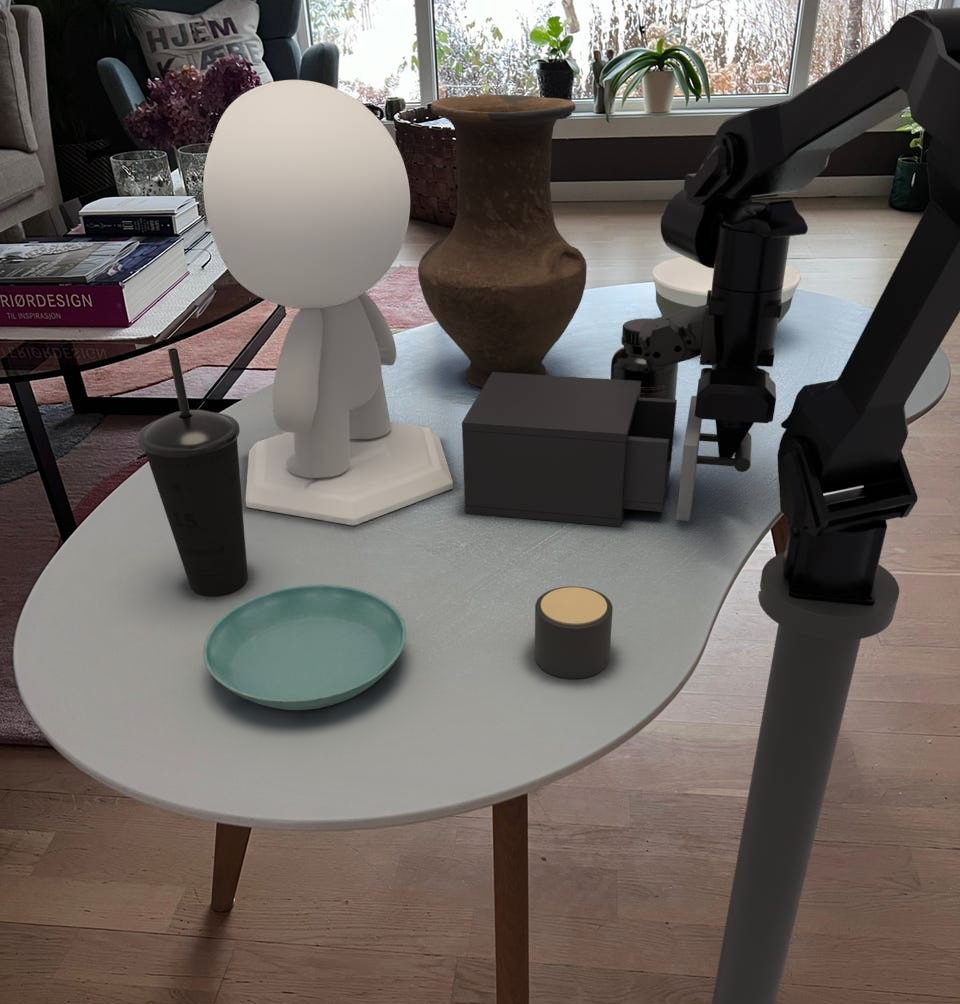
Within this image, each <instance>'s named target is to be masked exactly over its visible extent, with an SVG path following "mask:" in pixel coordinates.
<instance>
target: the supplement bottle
mask: <svg viewBox="0 0 960 1004" xmlns="http://www.w3.org/2000/svg"><path fill="white" fill-rule="evenodd" d="M652 319H653V318H644V317H643V318H634V319H630V320H627V321H625V322H624V323H623V324H622V330H621V331H622V332H621V333H622V334H621V339H620V343H621V345H622V347H620V348H619V349H617V350H616V352H614V354H613V356H612V357H611V361H610V363H611V364H610V379H615V380H632V381H641V389H640V390H641V391H640V397H644V398H660V399H676V400H677V384H678V374H679V373H678V370H679V363H675V364H672V365H668V366H665V367H664V369H662V370H659V371H654V372H651V371H649V370H648V367H647V364H646V360H644V359H643V358H642V347H641V343H640V340H639V333H640V330H641V326H642V325H643V324H644V323H645V322H647V321H649V320H652Z"/></svg>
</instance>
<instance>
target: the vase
mask: <svg viewBox="0 0 960 1004" xmlns="http://www.w3.org/2000/svg"><path fill="white" fill-rule="evenodd" d="M430 109H431V110H430V111H431V113H432V114H433V115H436V116H438V117H441V118H444V119H445V120H447V121H449V122H450V123H451V125H452V126H453V129H454V132H455V144H456V147H455V149H456V151H455V153H456V178H457V210H456V211H457V212H456V218H455V221H454V224H453V227H452V230H451V231H450V233H449V234H448V235H447V236H443V237H441V238H440V239H438V240H437V241H436V242H434V243H433V244H432V245H431V246H430V247H429V248H428V249H427V250H426V251H425V253H424V254H423V255H422V257H421V259H420V261H419V263H418V268H417V277H418V282H419V283H418V284H419V285H420V290H421V292H422V295H423V298H424V301H425V304H426V305H427V307H428V309H429V312H430V313H431V315H432V316H433V317H434V319H435V320H436V321H437V323H438V325H439V326H440V328H441V329H442V330H443V331H444V333H445V334H446V335H448V337H449V338H450V339H451V341H453V342H454V343H455V345H456V346H457V347H458V348H459V349H460V350H461V351H462V352H463V354H464V355H465V356H466V357H467V359H468V360H469V362H470V363H469V366H468V368H467V369H466V370H465V372H464V379H465V380H466V381H467V382H468V383H470V384H471V385H473V386H475V387H479V388H483V387H484V385H485V383H486V382H487V380H488V378H489V377H490V375H491V373H492V372H499V373H516V374H532V375H547V370H546V369H547V368H546V366H545V365H544V363H543V361H544V359H545V358H546V355H547V354H549V352H550V351H551V350H552V348H553V347H554V346H555V344H556V343H558V341H559V340H560V338H561V337H562V335H563V334H564V333H565V331H566V330H567V328H568V327H569V325H570V323H571V322H572V320H573V318H574V316H575V314H576V312H577V311H578V309H579V307H580V304H581V301H582V299H583V295H584V292H585V288H586V284H587V271H588V270H587V267H588V266H587V260H586V259H585V257H584V254H583V253H582V252H581V251H580V250H579V249H578V248H577V247H575V246H572V245H571V244H569V242H567V241H566V239H565V238H564V237H563V236H562V234H561V233H560V232H559V229H558V227H557V225H556V223H555V218H554V212H553V205H552V204H553V202H552V194H551V193H552V191H551V173H552V145H553V144H552V143H553V133H554V128H555V127H554V126H555V124H556V122H557V120H559V119H560V118H561V117H564V116H567V115H569V114H571V113H573V112H575V110H576V103H575V102H573V100H570V99H564V98H559V97H558V98H556V97H545V96H544V97H543V96H534V95H515V94H494V93H493V94H491V93H490V94H489V93H485V94H481V95H474V94H468V95H465V96H446V97H442V98H439V99H436V100H434V101H433V102H431V104H430Z"/></svg>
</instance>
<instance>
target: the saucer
mask: <svg viewBox="0 0 960 1004" xmlns="http://www.w3.org/2000/svg"><path fill="white" fill-rule="evenodd" d="M406 640H407V628H406V624H405V620H404V619H403V617H402V616H401V613H399V611H398V610H397V609H396V608H395V607H394V606H393V604H391V603H390V602H388V601H387V600H386V599H385V598H382V597H380V596H378V595H376V594H374V593H372V592H369V591H366V590H363V589H359V588H356V587H351V586H345V585H344V586H343V585H339V584H306V585H297V586H296V585H295V586H290V587H285V588H281V589H276V590H273V591H272V590H271V591H270V592H267V593H263V594H261V595H258V596H255V597H252V598H251V599H248V600H246V601H244V602H243V603H241V604H240V603H239V604H238V605H237V606H235V607H233V608H232V609H230V610H229V611H228V612H227V613H225V614H223V616H222V617H220V619H219V620H217V622H216V623H215V624H214V625H213V626H212V627H211V629H210V630H209V632H208V634H207V635H206V638H205V640H204V643H203V649H202V654H203V655H202V656H203V661H204V664H205V666H206V669H207V671H208V672H209V673H210V675H211V676H212V678H214V680H215V681H217V682H218V683H219V684H220V685H222V686H223V687H225V688H226V689H227V690H228V691H230V692H232V693H234V694H236V695H237V696H238V697H241V698H243V699H245V700H247V701H249V702H252V703H255V704H258V705H262V706H265V707H269V708H273V709H278V710H285V711H308V710H309V711H310V710H317V709H323V708H326V707H330V706H334V705H336V704H340V703H343V702H346V701H348V700H350V699H352V698H354V697H356V696H357V695H359V694H361V693H362V692H364V691H365V690H367V689H368V688H370V687H372V686H373V685H374V684H376V682H378V681H379V680H380V679H381V678H382V677H384V675H386V673H387V672H389V670H390V669H391V668H392V667H393V666H394V664H395V663H396V661H397V660H398V658H399V657H400V655H401V653H402V651H403V649H404V647H405V644H406Z"/></svg>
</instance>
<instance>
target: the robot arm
mask: <svg viewBox="0 0 960 1004" xmlns="http://www.w3.org/2000/svg"><path fill="white" fill-rule="evenodd" d="M908 108H909V112H910V117H911V119H912V120H913V122H915V123H916V124H917V125H918V126H919V127H921V128H922V129H923V130H924V131H925V132H927V134H929V135H930V136H931V140H930V142H929V145H928V147H927V150H926V154H925V155H926V156H925V159H926V171H927V179H928V188H929V201H928V202H927V205H926V208H925V209H924V211H923V213H922V215H921V217H920V219H919V221H918V223H917V225H916V227H915V228H914V231H913V233H912V235H911V237H910V239H909V241H908V243H907V245H906V247H905V248H904V251H902V254H901V256H900V258H899V261H898V262H897V263H896V266H895V268H894V270H893V272H892V273H891V276H890V278H889V279H888V281H887V283H886V285H885V288H884V289H883V291H882V294H881V295H880V297H879V299H878V301H877V303H876V305H875V307H874V309H873V311H872V313H871V314H870V317H869V318H868V320H867V323H866V324H865V326H864V328H863V330H862V331H861V334H860V336H859V338H858V340H857V342H856V344H855V346H854V348H853V349H852V352H851V354H850V356H849V357H848V360H847V361H846V363H845V365H844V367H843V369H842V371H841V373H840V374H839V376H838V378H837V379H834V380H828V381H823V382H817V383H809V384H805V385H802V387H801V388H800V390H798V393H797V394H796V396H795V398H794V402H793V405H792V408H791V411H790V412H789V414H788V416H787V417H786V419H784V420H783V421H781V424H780V427H781V428H782V429H784V432H783V433H782V436H781V438H780V440H779V441H780V442H779V445H778V450H777V473H778V474H777V475H778V490H779V508H780V512H781V513H782V514H783V515H785V516H786V517H787V526H788V532H787V537H786V543H785V547H784V548H785V549H784V552H785V554H784V560H783V577H784V578H785V579H786V580H788V589H789V596H790V597H792V598H795V599H806V600H816V601H826V602H836V603H846V604H856V605H866V606H872V605H874V603H875V599H876V598H875V592H874V581H875V577H876V572H877V568H878V564H879V563H880V559H881V554H882V551H883V546H884V542H885V538H886V533H887V530H888V524H887V521H888V520H893V519H898V518H899V519H903V518H907V517H908V516H909V514H910V513H911V512H912V510H913V508H914V506H915V505H916V504H917V502H918V500H919V498H918V494H917V491H916V488H915V485H914V483H913V480H912V477H911V474H910V471H909V468H908V466H907V462H906V460H905V457H904V454H903V448H904V446H905V444H906V441H907V439H908V436H909V427H908V420H907V414H906V403H907V401H908V400H909V398H910V396H911V394H912V393H913V391H914V390H915V388H916V386H917V385H918V382H919V381H920V380H921V377H922V376H923V374H924V373H925V371H926V369H927V368H928V366H929V364H930V363H931V362H932V359H933V358H934V356H935V354H936V352H937V351H938V350H939V347H940V346H941V344H942V343H943V341H944V340H945V338H946V336H947V334H948V333H949V332H950V331H949V330H950V329H951V327H952V326H953V324H954V322H955V321H956V319H957V317H958V316H959V314H960V6H959V7H958V6H957V7H942V8H940V7H939V8H926V9H915V10H913V11H910V12H908V13H907V14H906V15H904V16H901V17H899V18H898V19H897V20H896V21H895V22H894V23H893V24H892V25H891V27H890V29H889V31H887V32H886V33H885V34H883V35H882V36H881V37H880V36H879V38H877V39H876V40H875V41H873V42H871V43H870V44H869V45H867V46H865V47H864V48H863V49H862V50H860V51H859V52H857V53H856V54H854V55H853V56H851V57H850V58H848V59H847V60H846V61H844V62H843V63H841V64H840V65H838V66H837V67H835V68H833V69H832V70H831V71H830V72H828V73H827V74H824V75H823V76H822V77H821V78H819V79H818V80H816V81H815V82H813V83H812V84H810V85H809V86H808V87H806V88H805V89H803V90H802V91H801V92H799V93H797V94H796V95H794V96H793V97H792V98H790V99H787V100H784V101H781V102H778V103H774V104H770V105H766V106H761V107H758V108H757V107H756V108H753V109H750V110H746V111H744V112H741V113H738V114H735V115H733V116H730V117H728V118H726V119H725V120H723V122H722V123H721V124H720V125H719V127H718V129H717V131H716V132H715V138H713V141H712V143H711V144H710V146H709V148H708V149H707V152H706V154H705V157H704V158H703V160H702V162H701V164H700V166H699V168H698V170H697V172H696V173H687V174H686V175H685V176H684V184H683V189H681V190H679V192H677V193H675V195H674V196H673V197H672V198H671V199H670V200H669V202H668V204H667V205H666V207H665V210H664V212H663V215H662V216H661V217H660V218H661V219H660V233H661V238H662V241H663V242H664V244H665V245H666V247H667V248H669V249H670V250H671V251H672V252H675V253H677V254H679V255H682V257H684V256H685V257H687V258H689V259H691V260H694V261H696V262H698V263H700V264H702V265H704V266H706V267H708V268H714V271H713V281H712V289H711V290H708V293H707V302H706V305H702V306H699V307H695V308H689V309H685V310H681V311H678V312H675V313H672V314H668V315H665V316H662V315H661V316H659V317H655V318H651V319H652V320H649V321H647V322H645V323H644V324H643V325H642V326H641V330H640V333H639V340H640V343H641V347H642V358H643V359H644V360H646V364H647V367H648V370H649V371H651V372H654V371H659V370H662V369H664V367H665V366H668V365H672V364H675V363H678V364H679V363H682V362H685V361H686V362H687V361H689V360H692V359H694V358H697V357H699V365H700V366H711V367H704V368H701V369H700V378H698V380H697V381H698V382H697V390H696V396H697V397H696V407H695V416H696V417H698V418H700V419H702V420H709V421H715V430H716V434H717V441H718V442H717V449H718V450H717V451H718V457H727V458H734V456H735V452H736V450H737V449H738V447H739V446H740V444H741V442H742V441H743V439H744V438H745V436H746V434H747V433H749V431H750V430H751V429H752V427H753V426H754V424H756V423H757V424H768V423H771V422H773V421H774V416H775V409H776V403H777V389H776V388H777V387H776V386H777V385H776V382H775V381H774V380H773V379H772V378H771V376H770V372H769V371H767V370H766V369H763V368H760V367H765V368H766V367H767V368H769V367H770V368H772V367H774V360H775V343H776V334H777V327H778V324H777V322H778V318H780V314H781V307H782V302H781V295H782V288H783V281H784V274H785V268H786V264H787V262H788V261H787V260H788V253H789V245H790V241H791V240H790V239H791V237H795V236H803V235H806V234H807V233H808V230H809V226H808V224H807V222H806V220H805V218H804V217H803V216H802V215H801V214H800V213H799V211H798V210H797V208H796V205H795V203H794V201H793V200H792V199H788V200H779V201H770V202H769V203H767V202H763V201H753V200H760V199H762V200H763V199H769V198H778V197H782V196H783V195H784V194H788V193H796V192H800V191H801V190H803V189H804V188H805V187H806V186H808V185H809V184H810V183H811V182H812V181H813V180H814V179H815V178H817V177H818V176H819V175H820V174H821V173H822V172H824V170H825V169H826V168H827V166H828V163H829V159H830V155H831V154H832V153H834V151H836V150H837V149H838V148H839V147H841V146H843V145H845V144H847V143H848V142H851V140H853V139H855V138H856V137H859V136H861V135H862V134H864V133H866V132H867V131H869V130H871V129H873V128H874V127H877V126H879V125H880V124H881V123H883V122H885V121H887V120H888V119H890V118H892V117H893V116H896V115H897V114H899V113H901V112H902V111H904V110H906V109H908ZM879 565H880V564H879Z"/></svg>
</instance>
